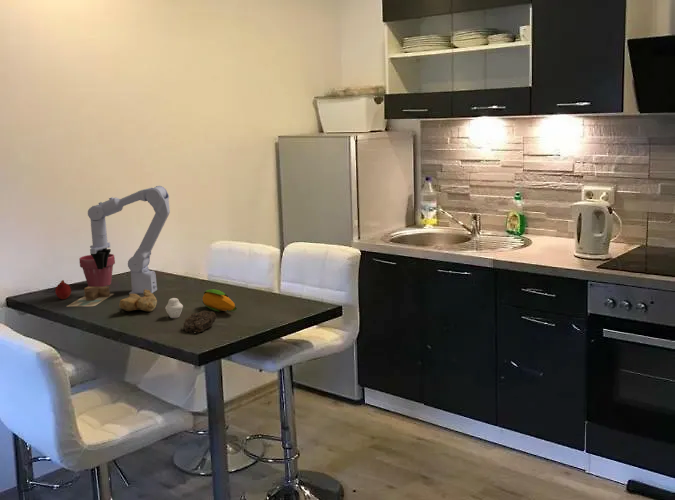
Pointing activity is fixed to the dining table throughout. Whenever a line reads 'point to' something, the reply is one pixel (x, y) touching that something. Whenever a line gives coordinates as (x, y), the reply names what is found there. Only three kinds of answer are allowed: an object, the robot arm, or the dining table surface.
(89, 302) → the board
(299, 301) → the dining table surface
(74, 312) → the dining table surface
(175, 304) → the white jar
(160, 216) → the robot arm
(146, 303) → the ginger root
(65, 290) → the onion
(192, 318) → the dark brown lumpy piece
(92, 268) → the plant pot
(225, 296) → the corn
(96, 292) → the t block
